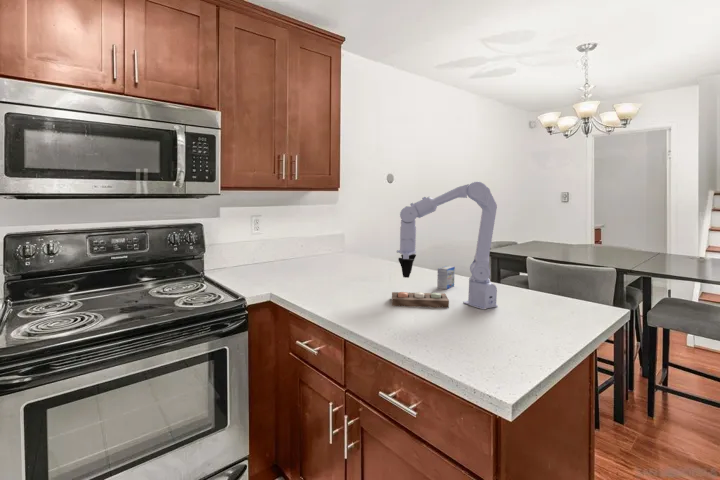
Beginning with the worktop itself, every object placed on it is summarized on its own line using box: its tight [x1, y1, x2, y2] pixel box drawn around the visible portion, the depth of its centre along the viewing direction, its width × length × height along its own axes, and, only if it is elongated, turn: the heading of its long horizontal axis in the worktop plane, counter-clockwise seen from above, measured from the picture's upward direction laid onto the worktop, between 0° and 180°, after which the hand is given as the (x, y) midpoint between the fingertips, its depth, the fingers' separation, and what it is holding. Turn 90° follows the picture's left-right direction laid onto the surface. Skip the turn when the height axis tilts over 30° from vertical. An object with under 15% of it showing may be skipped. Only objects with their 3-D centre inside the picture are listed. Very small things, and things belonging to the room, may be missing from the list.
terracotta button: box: [398, 291, 409, 298], centre depth 145 cm, size 4×4×2 cm
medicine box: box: [437, 265, 456, 290], centre depth 169 cm, size 8×4×9 cm, turn 143°
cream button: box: [413, 291, 425, 298], centre depth 144 cm, size 4×4×2 cm
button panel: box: [391, 291, 450, 309], centre depth 144 cm, size 20×10×2 cm, turn 85°
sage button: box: [430, 292, 441, 298], centre depth 144 cm, size 4×4×2 cm
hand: (407, 275), depth 147 cm, fingers open, 7 cm apart
